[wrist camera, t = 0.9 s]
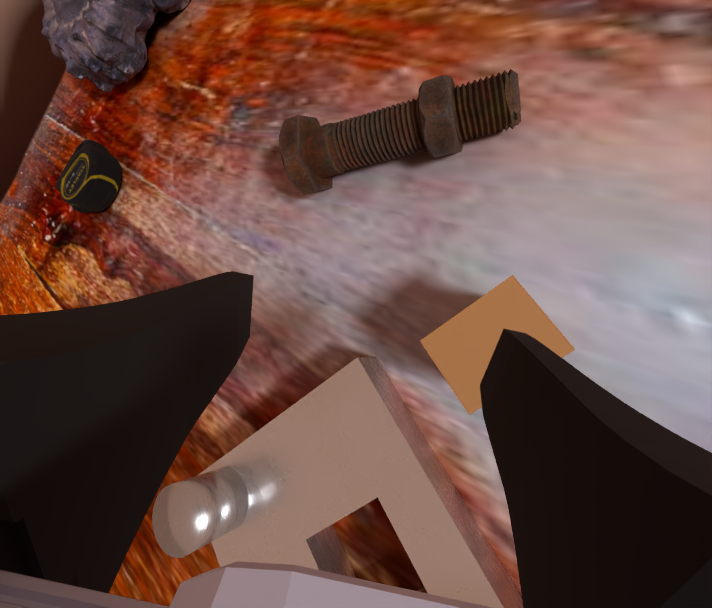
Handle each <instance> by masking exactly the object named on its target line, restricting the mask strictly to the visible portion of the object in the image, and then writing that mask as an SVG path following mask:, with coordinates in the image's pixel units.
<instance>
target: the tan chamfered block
mask: <svg viewBox="0 0 712 608" xmlns="http://www.w3.org/2000/svg"><path fill="white" fill-rule="evenodd" d="M503 329H509V330H513V331H518V332H523V333H526V334H528V335H530V336H532V337H533V338H535V339H536V340H538V341H539V342H541V343H542V344H544V345H545V346H546V347H548V348H549V349H550V350H552V351H553V352H554V353H556V354H557V355H558V356H560V357H561V358H562V357H564V356H565V355H567V354H569V353H570V352H572V351H574V350H575V349H574V347H573V346H572V345H571V344H570V343H569V341H568V340H567V339H566V338H565V337H564V336H563V334H562V333H561V332H560V331H559V330H558V328H557V327H556V326H555V325H554V324H553V322H552V321H551V320H550V319H549V318H548V316H547V315H546V314H545V313H544V312H543V310H542V309H541V308H540V307H539V306H538V305H537V303H536V302H535V301H534V300H533V299H532V297H531V296H530V295H529V294H528V293H527V291H526V290H525V289H524V288H523V287H522V285H521V284H520V283H519V282H518V281H517V280H516V278H515V277H514V276H513V275H512V276H511V277H509V278H508V279H506V280H505V281H503V282H502V283H501V284H499V285H498V286H496V287H495V288H494V289H492V290H491V291H489V292H488V293H487V294H485V295H484V296H482V297H481V298H480V299H478V300H477V301H475V302H474V303H473V304H471V305H470V306H468V307H467V308H465V309H464V310H463V311H461V312H460V313H458V314H457V315H456V316H454V317H453V318H451V319H450V320H449V321H447V322H446V323H444V324H443V325H442V326H440V327H439V328H437V329H436V330H435V331H433V332H432V333H430V334H429V335H427V336H426V337H425V338H423V339H422V340H420V342H421V343H422V345H423V346H424V348H425V349H426V351H427V352H428V354H429V355H430V357H431V358H432V360H433V361H434V363H435V364H436V366H437V367H438V369H439V370H440V372H441V373H442V375H443V376H444V378H445V379H446V381H447V382H448V384H449V385H450V387H451V388H452V390H453V391H454V393H455V394H456V396H457V397H458V399H459V400H460V402H461V403H462V405H463V406H464V408H465V409H466V411H467V412H468V414H469V415H470V414H471V413H473V412H474V411H476V410H478V409H479V408H481V407H482V403H481V393H480V383H481V381H482V379H483V376H484V374H485V371H486V369H487V367H488V364H489V362H490V360H491V357H492V355H493V353H494V350H495V348H496V345H497V343H498V341H499V338H500V336H501V334H502V331H503Z"/></svg>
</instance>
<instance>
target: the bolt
mask: <svg viewBox="0 0 712 608" xmlns="http://www.w3.org/2000/svg"><path fill="white" fill-rule="evenodd" d="M520 111H521V107H520V94H519V83H518V74H517V73H515V72H514V71H513V70H511V69H510V71H509V72H508V73H507V72H506V71H505V70H504V72H503V74H502V75H501V74H500V73H498V74H497V76H496V77H495V76H494V75H493V74H492V76H491V77H490V79H489V78H488V77H487V76H486V78H485V79H484V81H483V80H482V79H481V78H480V80H479V81H478V83H477V82H476V81H475V80H474V81H473V83H472V84H471V83H469V82H468V83H467V85H466V86H465V85H464V84H462V86H461V87H459V86H458V85H457V86H456V88H455V85H454V81H453V79H452V77H450V76H443V75H442V76H439V77H436V78H433V79H430V80H427V81H424V82H423V83H422V84H421V86H420V88H419V95H418V99H417V101H416V100H415V99H413V100H412V102H410V101H409V100H408V101H407V104H406V103H405V102H402V105H400V104H397V105H396V106H395V105H392V107H391V108H390V107H387V108H386V109H385V108H382V110H377V111H376V112H375V111H373V112H372V113H367V114H366V115H365V114H363V115H362V116H358V117H354V118H350V119H348V120H347V119H346V120H344V121H340V122H337V123H328V124H325V125H322V126H320V124H319V122H318V120H317V118H314V117H307V116H299V115H297V116H294V117H291V118H289V119H286V120H284V122H283V125H282V128H281V131H280V135H279V146H280V151H281V156H282V160H283V164H284V167H285V170H286V173H287V175H288V177H289V179H290V181H291V182H292V184H293V185H294V186H295V187H296V188H297V189H298V190H299V191H300V192H301V193H302V194H303V195H305V194H309V193H314V192H318V191H322V190H326V189H330V188H332V176H333V175H337V174H341V173H344V172H345V171H347V170H352V169H355V168H360V167H361V166H362V167H363V166H365V165H370V164H374V163H378V162H383V161H387V160H388V159H389V160H392V159H393V158H395V159H396V158H397V157H402V155H403V156H406V155H407V154H408V155H411V154H412V152H413V153H414V154H415V153H416V152H417V151H418V152H421V151H422V150H423V151H426V149H427V151H428V153H429V155H430V157H431V158H437V157H441V156H445V155H450V154H454V153H458V152H461V150H462V141H463V139H466V140H468V138H469V137H470V138H471V139H473V138H474V135H475V136H476V137H477V138H478V137H479V135H482V136H484V135H485V133H487V134H489V135H490V133H491V131H492V132H494V133H496V131H497V130H499V131H501V132H502V130H503V128H504V129H505V130H506V131H507V130H508V128H509V126H510V127H511V128H512V129H513V128H514V126H515V125H518V124H519V123H520V122H521V115H520Z"/></svg>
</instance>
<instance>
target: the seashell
mask: <svg viewBox="0 0 712 608" xmlns="http://www.w3.org/2000/svg"><path fill="white" fill-rule="evenodd" d="M42 1H43V4H44V9H45V14H44V17H43V20H42V21H43V26H44V27H43V30H42V34H43V35H44V36H45V37H46V38H47V39H48V40H49V43H50V45H51V49H52V53H53V54H54V55H55V56H56V57H58V58H60V59H62V60H64V61H65V62H66V71H67V72H68V73H70V74H71V75H73V76H74V77H76V78H78V79H81V80H83V78H88V79H89V80H90V81H91V82H94V84H95V85H96V86H97V87H98V88H99V89H101V90H103V91H104V92H107V93H108V92H111V90H112V89H113V88H114V87H115V86H116V85H117V84H120V83H124V82H128V80H130V79H132V78H133V77H134V76H135V75H136V74H137V73H139V72H140V71H141V70H142V68H143V67H144V65H145V63H146V61H147V48H146V44H145V37H146V34H147V30H148V29H149V28H150V27H151V26H152V24H153V22H154V19H155V15H156V14H157V12H158V10H161V11H163V12H164V13H172V12H175V11H178V10H182V9H184V8H185V7H186V6H187V5H188V4H189V2H190V0H42Z"/></svg>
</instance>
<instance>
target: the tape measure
mask: <svg viewBox="0 0 712 608" xmlns="http://www.w3.org/2000/svg"><path fill="white" fill-rule="evenodd" d="M121 177H122V172H121V167H120V164H119V162H118V161H117V159H116V158H114V157H113V156H112V155H110V154H109V153H108V151H107V149H106V148H105V147H104V146H102V145H101V144H99V143H98V142H95V141H93V140H84V141H83V142H82V143H81V144H80V145H79V146H78V147H77V149H76V150H75V152H74V153H73V155H72V156H71V158H70V160H69V161H68V163H67V165H66V166H65V168H64V170H63V172H62V174H61V176H60V177H59V179H58V181H57V183H56V185H55V187H56V189H57V190H58V191H60V194H61V197H62V199H63V200H64V201H66V202H67V203H68V204H69V205H71V206H72V207H73V208H74V209H75V210H77V211H79V212H83V213H87V212H91V211H93V212H101V211H103V210H104V209H106V208H107V207H108V206H109V205H110V204H111V203H112V201H113V200H114V198H115V196H116V194H117V192H118V189H119V187H120V184H121Z"/></svg>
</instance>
